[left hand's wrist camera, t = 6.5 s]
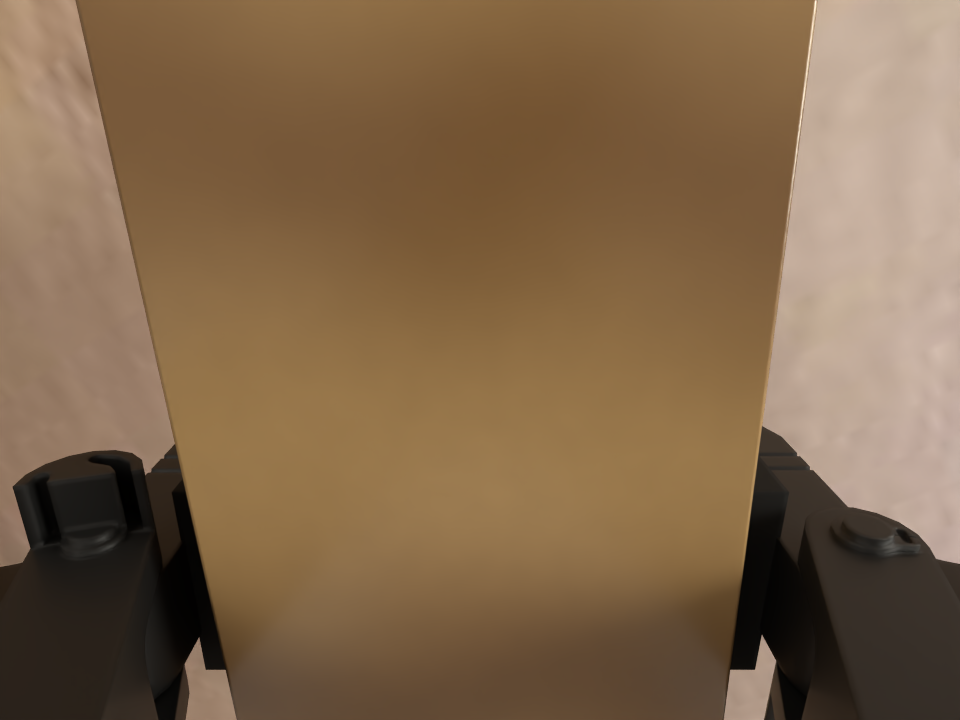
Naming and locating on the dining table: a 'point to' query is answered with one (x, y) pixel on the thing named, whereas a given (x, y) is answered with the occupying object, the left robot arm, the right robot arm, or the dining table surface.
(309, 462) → the post
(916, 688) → the left robot arm
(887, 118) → the dining table surface
